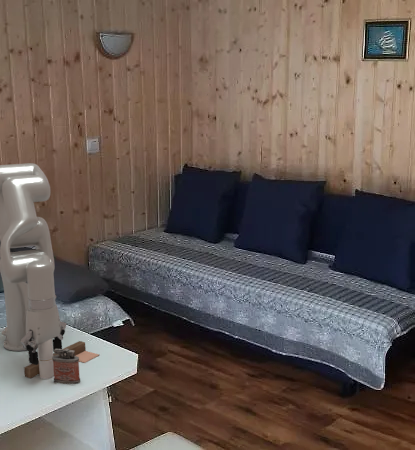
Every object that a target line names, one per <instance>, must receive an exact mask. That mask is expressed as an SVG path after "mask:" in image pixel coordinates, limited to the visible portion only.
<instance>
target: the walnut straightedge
mask: <svg viewBox="0 0 415 450" xmlns="http://www.w3.org/2000/svg"><path fill="white" fill-rule="evenodd" d="M66 348H68V349H69V350H74V351H75V354H74V356H76V355H78V354H80V353H82V352H84V351H87V350H86V348H87V347H86V342H84V341H82V340H78V341H76V342H73V343H72V344H70V345H68V346H65V347H64V348H62V349H63V350H65V349H66ZM55 355H59V354H54V352H53V356H55ZM61 355H62V354H61ZM38 361H39V359H38ZM23 370H24V377H25V378H27V379H33V378H35V377H36V376H38V375H39V376H40V371H39V364H38V365H34V364H31V363H29V364H28V365H26V366H24V367H23Z"/></svg>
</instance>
